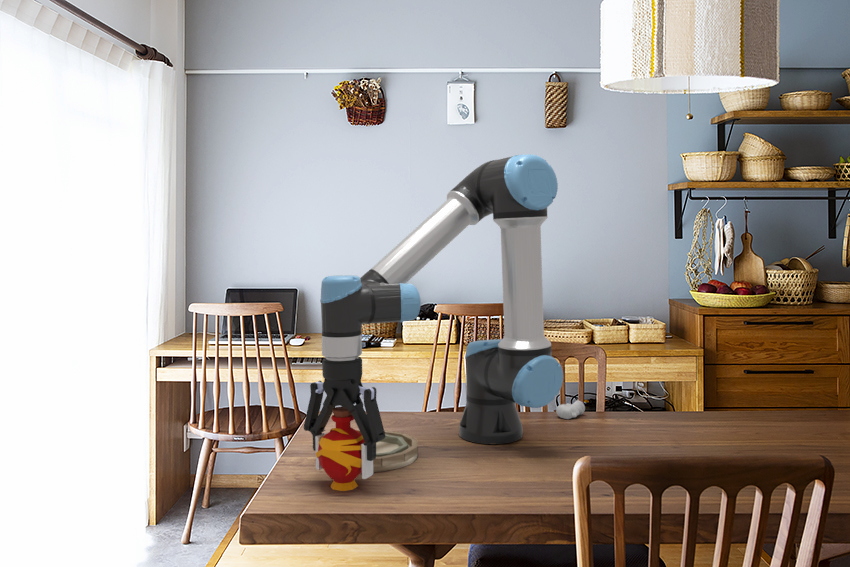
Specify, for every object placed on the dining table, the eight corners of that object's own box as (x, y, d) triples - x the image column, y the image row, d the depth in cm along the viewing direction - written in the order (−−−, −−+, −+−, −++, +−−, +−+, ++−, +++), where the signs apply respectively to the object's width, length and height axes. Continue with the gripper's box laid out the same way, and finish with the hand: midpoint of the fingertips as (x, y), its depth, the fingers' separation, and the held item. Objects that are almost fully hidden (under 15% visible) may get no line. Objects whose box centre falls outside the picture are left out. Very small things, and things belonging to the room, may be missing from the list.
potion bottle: (306, 486, 127) (304, 409, 126) (349, 472, 134) (347, 399, 133) (339, 501, 119) (337, 419, 118) (382, 485, 127) (381, 408, 126)
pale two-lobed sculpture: (563, 425, 171) (552, 415, 175) (588, 421, 174) (576, 411, 178) (565, 411, 169) (554, 400, 173) (591, 406, 172) (579, 397, 177)
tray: (433, 449, 148) (433, 437, 148) (386, 478, 130) (385, 464, 130) (359, 437, 157) (359, 426, 157) (306, 462, 140) (305, 449, 140)
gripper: (403, 358, 123) (405, 475, 124) (307, 349, 134) (309, 457, 135) (381, 365, 116) (383, 488, 118) (282, 355, 127) (285, 468, 129)
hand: (344, 471), depth 126 cm, fingers closed on potion bottle, 10 cm apart
